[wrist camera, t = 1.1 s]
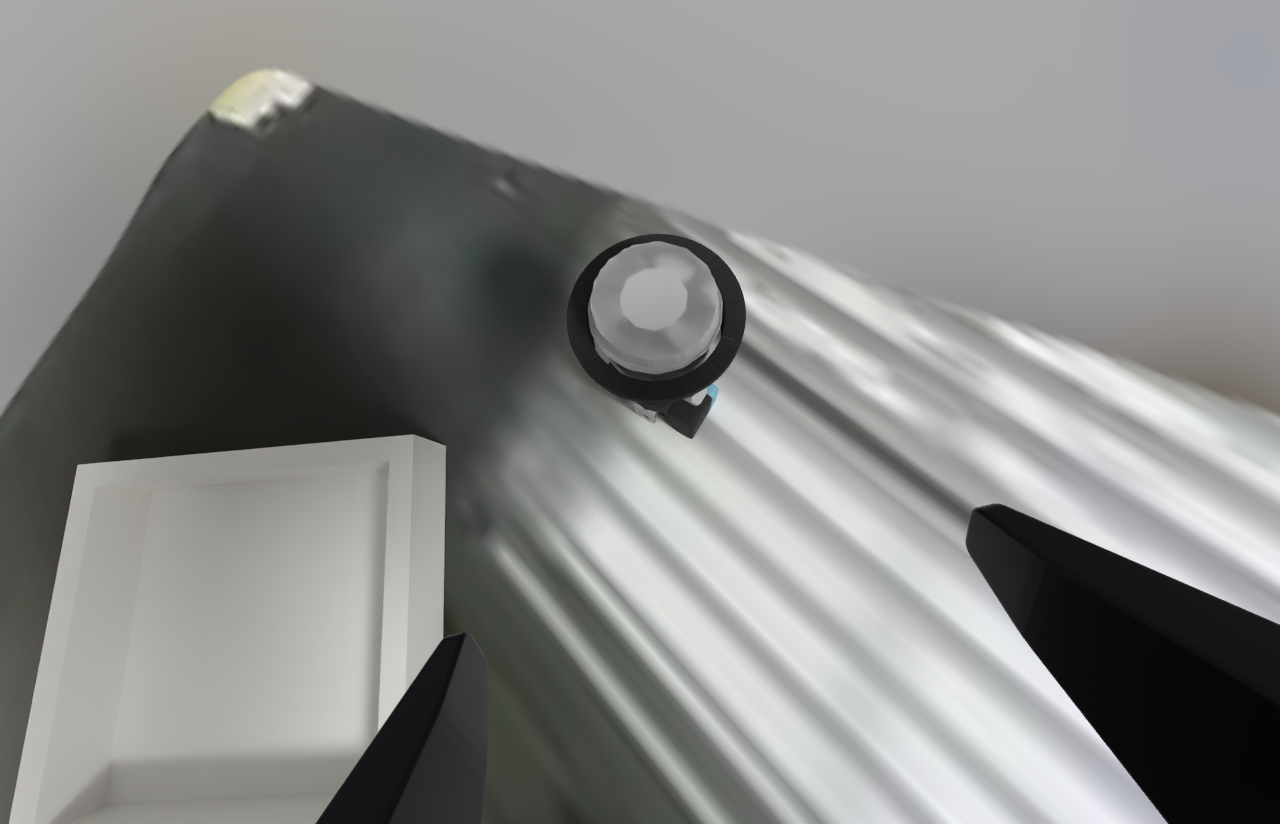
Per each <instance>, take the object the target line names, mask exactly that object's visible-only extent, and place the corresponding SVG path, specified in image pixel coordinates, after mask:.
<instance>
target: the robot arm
mask: <svg viewBox="0 0 1280 824" xmlns="http://www.w3.org/2000/svg"><path fill="white" fill-rule="evenodd" d="M966 547H967V550H968V552H969V554H970V556H971V558H972V559H973V561H974V562H975V564H976V565H977V567H978V569H979V570H980V572H981V573H982V575H983V576H984V578H985V580H986V581H987V583H988V584H989V586H990V587H991V589H992V590H993V592H994V594H995V595H996V597H997V598H998V600H999V601H1000V603H1001V605H1002V606H1003V608H1004V609H1005V611H1006V612H1007V614H1008V616H1009V617H1010V619H1011V620H1012V622H1013V623H1014V625H1015V626H1016V628H1017V629H1018V631H1019V632H1020V634H1021V635H1022V637H1023V638H1024V639H1025V641H1026V642H1027V643H1028V645H1029V646H1030V647H1031V649H1032V650H1033V651H1034V653H1035V654H1036V655H1037V656H1038V658H1039V659H1040V660H1041V662H1042V663H1043V664H1044V665H1045V667H1046V668H1047V669H1048V670H1049V672H1050V673H1051V674H1052V676H1053V677H1054V678H1055V679H1056V681H1057V682H1058V683H1059V685H1060V686H1061V687H1062V688H1063V690H1064V691H1065V692H1066V694H1067V695H1068V696H1069V697H1070V699H1071V700H1072V701H1073V703H1074V704H1075V705H1076V706H1077V708H1078V709H1079V710H1080V711H1081V713H1082V714H1083V715H1084V717H1085V718H1086V719H1087V720H1088V722H1089V723H1090V724H1091V726H1092V727H1093V728H1094V729H1095V731H1096V732H1097V733H1098V735H1099V736H1100V737H1101V738H1102V740H1103V741H1104V742H1105V744H1106V745H1107V746H1108V747H1109V749H1110V750H1111V751H1112V752H1113V754H1114V755H1115V756H1116V758H1117V759H1118V760H1119V761H1120V763H1121V764H1122V765H1123V767H1124V768H1125V769H1126V770H1127V772H1128V773H1129V774H1130V776H1131V777H1132V778H1133V779H1134V781H1135V782H1136V783H1137V785H1138V786H1139V787H1140V788H1141V790H1142V791H1143V792H1144V793H1145V795H1146V796H1147V797H1148V799H1149V800H1150V801H1151V802H1152V804H1153V805H1154V806H1155V808H1156V809H1157V810H1158V811H1159V813H1160V814H1161V815H1162V817H1163V818H1164V819H1165V820H1166V822H1167V823H1168V824H1280V625H1279V624H1277V623H1275V622H1272V621H1270V620H1268V619H1265V618H1263V617H1261V616H1259V615H1256V614H1254V613H1252V612H1249V611H1247V610H1245V609H1242V608H1240V607H1238V606H1235V605H1233V604H1231V603H1229V602H1226V601H1224V600H1222V599H1219V598H1217V597H1215V596H1212V595H1210V594H1208V593H1206V592H1203V591H1201V590H1199V589H1196V588H1194V587H1192V586H1189V585H1187V584H1185V583H1182V582H1180V581H1178V580H1176V579H1173V578H1171V577H1169V576H1166V575H1164V574H1162V573H1159V572H1157V571H1155V570H1152V569H1150V568H1148V567H1146V566H1143V565H1141V564H1139V563H1136V562H1134V561H1132V560H1129V559H1127V558H1125V557H1122V556H1120V555H1118V554H1116V553H1113V552H1111V551H1109V550H1106V549H1104V548H1102V547H1099V546H1097V545H1095V544H1092V543H1090V542H1088V541H1086V540H1083V539H1081V538H1079V537H1076V536H1074V535H1072V534H1069V533H1067V532H1065V531H1063V530H1060V529H1058V528H1056V527H1053V526H1051V525H1049V524H1046V523H1044V522H1042V521H1039V520H1037V519H1035V518H1033V517H1030V516H1028V515H1026V514H1023V513H1021V512H1019V511H1016V510H1014V509H1012V508H1009V507H1007V506H1005V505H1002V504H990V505H986V506H981V507H977V508H975V509H974V510H973V511H972V512H971V514H970V519H969V525H968V530H967V535H966ZM487 736H488V664H487V660H486V657H485V655H484V654H483V652H482V651H481V649H480V648H479V646H478V645H477V643H476V642H475V640H474V639H473V637H472V636H471V634H469V633H467V632H462V633H457V634H453V635H449V636H447V637H445V638H444V639H442V640H441V642H440V643H439V644H438V646H437V647H436V649H435V650H434V652H433V653H432V655H431V656H430V657H429V659H428V660H427V662H426V663H425V665H424V666H423V668H422V669H421V671H420V672H419V673H418V675H417V676H416V678H415V679H414V681H413V682H412V684H411V685H410V687H409V688H408V689H407V691H406V692H405V694H404V695H403V697H402V698H401V700H400V701H399V703H398V704H397V705H396V707H395V708H394V710H393V711H392V713H391V714H390V716H389V717H388V718H387V720H386V721H385V723H384V724H383V726H382V727H381V729H380V730H379V732H378V733H377V734H376V736H375V737H374V739H373V740H372V742H371V743H370V745H369V746H368V748H367V749H366V750H365V752H364V753H363V755H362V756H361V758H360V759H359V761H358V762H357V764H356V765H355V766H354V768H353V769H352V771H351V772H350V774H349V775H348V777H347V778H346V780H345V781H344V782H343V784H342V785H341V787H340V788H339V790H338V791H337V793H336V794H335V796H334V797H333V798H332V800H331V801H330V803H329V804H328V806H327V807H326V809H325V810H324V812H323V813H322V814H321V816H320V817H319V819H318V820H317V822H316V823H315V824H480V823H481V814H482V805H483V796H484V787H485V778H486V767H487Z"/></svg>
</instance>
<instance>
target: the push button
mask: <svg viewBox="0 0 1280 824" xmlns="http://www.w3.org/2000/svg"><path fill="white" fill-rule="evenodd" d="M745 321H746V309H745V301H744V297H743V293H742V290H741V287H740V285H739V283H738V281H737V279H736V277H735V275H734V274H733V272H732V271H731V269H730V268H729V267H728V265H727V264H726V263H725V262H724V261H723V260H722V259H721V258H720V257H719V256H718V255H717V254H715V253H714V252H713V251H711V250H710V249H708V248H707V247H705V246H703V245H702V244H699V243H697V242H695V241H693V240H690V239H687V238H684V237H680V236H675V235H668V234H649V235H642V236H637V237H633V238H630V239H627V240H624V241H621V242H619V243H617V244H615V245H613V246H611V247H609V248H608V249H606V250H605V251H603V252H602V253H600V254H599V255H598V256H597V257H596V258H595V259H593V260H592V261H591V262H590V264H589V265H588V266H587V267H586V268H585V269H584V271H583V272H582V273H581V275H580V276H579V278H578V280H577V281H576V283H575V286H574V288H573V290H572V293H571V296H570V299H569V303H568V310H567V329H568V335H569V339H570V343H571V345H572V348H573V351H574V353H575V355H576V357H577V358H578V360H579V362H580V363H581V365H582V367H583V368H584V369H585V371H586V372H587V373H588V374H589V375H590V376H591V377H592V378H593V379H594V380H595V381H596V382H597V383H598V384H599V385H601V386H602V387H603V388H605V389H606V390H608V391H610V392H611V393H614V394H616V395H618V396H620V397H623V398H625V399H628V400H632V401H635V402H634V404H633V406H634V410H635V412H636V413H637V414H639V415H640V416H642V417H644V418H645V419H647V420H649V421H650V422H652V423H656V420H655V415H656V414H657V412H661V413H662V414H664V415H665V416H667V417H668V419H669V420H670V422H671V424H672V426H673V427H674V429H675V430H676V431H678V432H680V433H681V434H683V435H685V436H686V437H688V438H691V439H692V438H693V437H694V435H695V434H696V432H697V430H698V429H699V427H700V425H701V424H702V422H703V420H704V419H705V417H706V415H707V414H708V412H709V410H710V409H711V407H712V405H713V404H714V402H715V400H716V396H717V393H718V388H717V387H716V386H715V385H713V384H712V383H713V382H715V381H716V380H717V379H718V378H719V377H720V376H721V375H722V374H723V373H724V372H725V371H726V369H727V368H728V367H729V365H730V364H731V362H732V361H733V359H734V357H735V355H736V353H737V351H738V349H739V346H740V343H741V340H742V338H743V334H744V329H745ZM720 326H721V339H720V341H719V343H718V345H717V347H716V348H715V350H714V351H713V353H712V354H711V355H710V356H709V357H708V354H709V350H710V346H711V344H712V342H713V340H714V338H715V337H716V335H717V333H718V331H719V329H720Z"/></svg>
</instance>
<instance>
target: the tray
mask: <svg viewBox="0 0 1280 824" xmlns="http://www.w3.org/2000/svg"><path fill="white" fill-rule="evenodd" d="M445 479H446V446H445V445H442V444H439V443H436V442H434V441H431V440H428V439H425V438H422V437H420V436H417V435H414V434H412V435H401V436H390V437H379V438H368V439H357V440H346V441H335V442H324V443H313V444H302V445H291V446H280V447H269V448H258V449H247V450H236V451H225V452H214V453H203V454H192V455H181V456H170V457H159V458H148V459H137V460H126V461H115V462H104V463H93V464H82V465H78V466H77V471H76V476H75V482H74V487H73V492H72V497H71V502H70V508H69V513H68V518H67V523H66V529H65V534H64V539H63V544H62V549H61V555H60V560H59V565H58V570H57V575H56V581H55V586H54V591H53V596H52V602H51V607H50V612H49V617H48V622H47V628H46V633H45V638H44V643H43V648H42V654H41V659H40V664H39V669H38V674H37V680H36V685H35V690H34V695H33V701H32V706H31V711H30V716H29V721H28V727H27V732H26V737H25V742H24V747H23V753H22V758H21V763H20V768H19V773H18V779H17V784H16V789H15V794H14V800H13V805H12V810H11V815H10V820H9V824H315V823H316V822H317V820H318V819H319V817H320V816H321V814H322V813H323V812H324V810H325V809H326V807H327V806H328V804H329V803H330V801H331V800H332V798H333V797H334V796H335V794H336V793H337V791H338V790H339V788H340V787H341V785H342V784H343V782H344V781H345V780H346V778H347V777H348V775H349V774H350V772H351V771H352V769H353V768H354V766H355V765H356V764H357V762H358V761H359V759H360V758H361V756H362V755H363V753H364V752H365V750H366V749H367V748H368V746H369V745H370V743H371V742H372V740H373V739H374V737H375V736H376V734H377V733H378V732H379V730H380V729H381V727H382V726H383V724H384V723H385V721H386V720H387V718H388V717H389V716H390V714H391V713H392V711H393V710H394V708H395V707H396V705H397V704H398V703H399V701H400V700H401V698H402V697H403V695H404V694H405V692H406V691H407V689H408V688H409V687H410V685H411V684H412V682H413V681H414V679H415V678H416V676H417V675H418V673H419V672H420V671H421V669H422V668H423V666H424V665H425V663H426V662H427V660H428V659H429V657H430V656H431V655H432V653H433V652H434V650H435V649H436V647H437V646H438V644H439V643H440V642H441V640H442V639H443V606H444V542H445Z"/></svg>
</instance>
